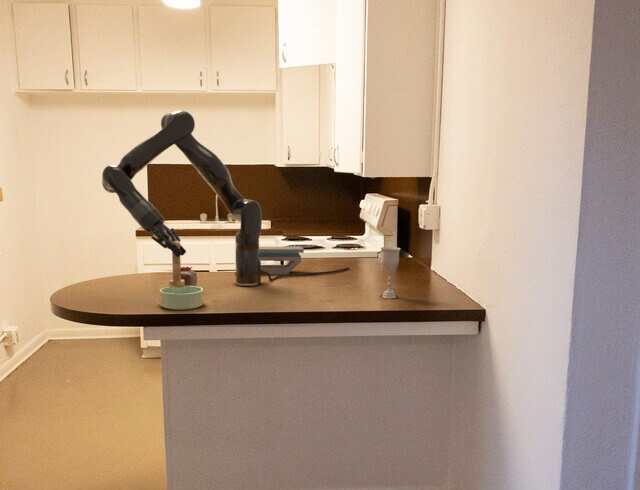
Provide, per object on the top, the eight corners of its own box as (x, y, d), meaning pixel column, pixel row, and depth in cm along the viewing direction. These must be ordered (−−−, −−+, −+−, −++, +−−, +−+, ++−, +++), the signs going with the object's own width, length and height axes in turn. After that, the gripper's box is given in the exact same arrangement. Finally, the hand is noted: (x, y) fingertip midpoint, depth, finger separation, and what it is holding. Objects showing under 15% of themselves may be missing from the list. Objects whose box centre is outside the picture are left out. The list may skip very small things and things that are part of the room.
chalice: (400, 296, 245) (402, 247, 241) (396, 299, 238) (398, 250, 235) (381, 294, 247) (383, 246, 243) (376, 297, 241) (378, 248, 237)
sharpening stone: (245, 274, 282) (245, 249, 280) (244, 271, 290) (244, 246, 288) (303, 274, 286) (303, 249, 284) (301, 271, 293) (301, 246, 291)
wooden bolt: (183, 284, 224) (182, 240, 221) (185, 287, 220) (185, 242, 217) (168, 285, 222) (167, 241, 219) (170, 288, 218) (169, 242, 215)
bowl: (198, 300, 232) (198, 284, 231) (207, 308, 219) (207, 292, 218) (157, 302, 227) (156, 287, 226) (163, 311, 214) (163, 295, 213)
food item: (176, 289, 249) (175, 263, 248) (197, 289, 250) (197, 263, 248) (172, 296, 236) (171, 269, 234) (195, 296, 237) (194, 269, 235)
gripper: (144, 209, 211) (180, 249, 211) (163, 206, 224) (197, 244, 224) (129, 225, 213) (165, 265, 213) (149, 221, 226) (183, 258, 226)
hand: (182, 254), depth 218 cm, fingers closed on wooden bolt, 2 cm apart
